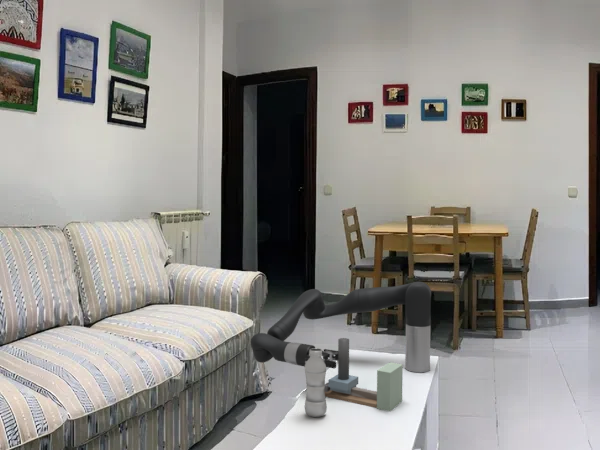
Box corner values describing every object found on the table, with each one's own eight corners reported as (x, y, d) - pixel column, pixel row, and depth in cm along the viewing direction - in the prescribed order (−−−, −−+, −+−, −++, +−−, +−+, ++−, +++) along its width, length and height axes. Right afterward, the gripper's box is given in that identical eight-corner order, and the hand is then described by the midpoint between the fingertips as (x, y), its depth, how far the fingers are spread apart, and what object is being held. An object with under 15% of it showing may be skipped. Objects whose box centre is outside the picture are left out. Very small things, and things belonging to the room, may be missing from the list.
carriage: (339, 384, 190) (340, 335, 190) (358, 387, 187) (358, 338, 186) (328, 391, 184) (328, 340, 183) (347, 395, 180) (347, 343, 179)
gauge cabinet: (387, 398, 182) (387, 362, 182) (402, 401, 180) (402, 364, 179) (374, 407, 174) (375, 370, 173) (390, 411, 171) (390, 372, 171)
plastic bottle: (324, 420, 164) (325, 353, 163) (302, 418, 165) (302, 352, 164) (328, 412, 170) (328, 347, 169) (306, 410, 172) (306, 346, 171)
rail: (334, 387, 192) (334, 379, 192) (388, 398, 182) (388, 389, 182) (321, 395, 185) (321, 386, 184) (376, 407, 174) (376, 398, 174)
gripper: (289, 348, 187) (331, 355, 179) (310, 339, 199) (351, 345, 191) (289, 370, 188) (331, 378, 179) (310, 360, 200) (351, 367, 191)
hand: (341, 361), depth 185 cm, fingers open, 8 cm apart
